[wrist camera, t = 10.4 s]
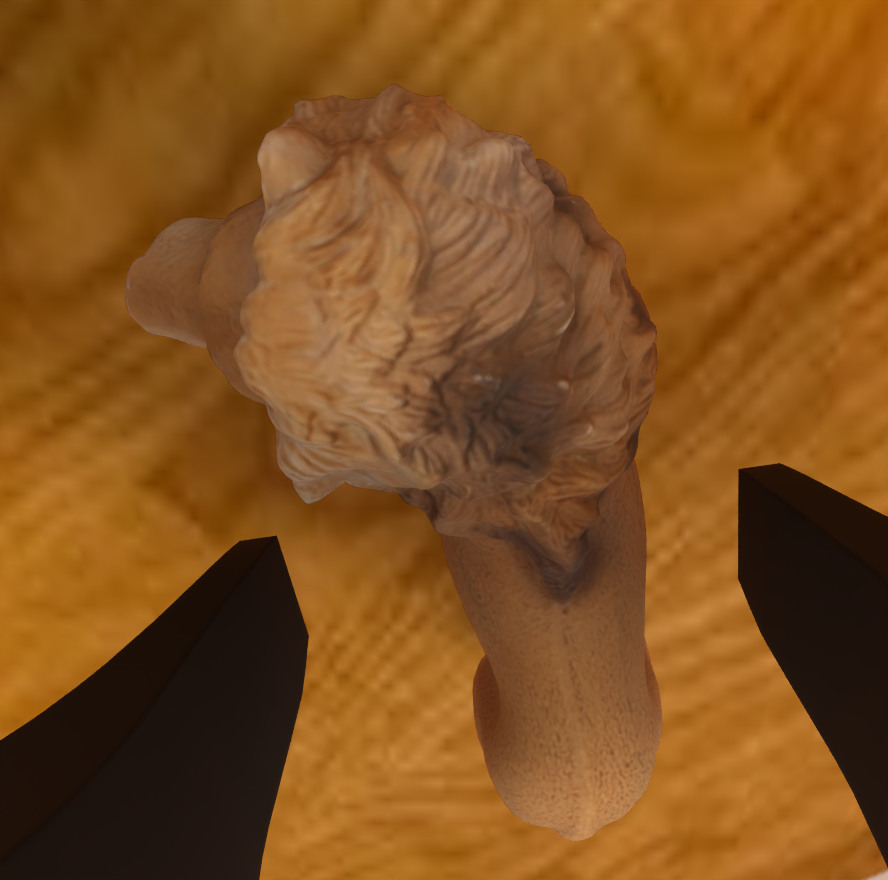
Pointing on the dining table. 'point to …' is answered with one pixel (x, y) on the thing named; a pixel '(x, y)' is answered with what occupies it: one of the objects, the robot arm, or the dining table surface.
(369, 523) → the dining table surface
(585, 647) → the lion figurine
